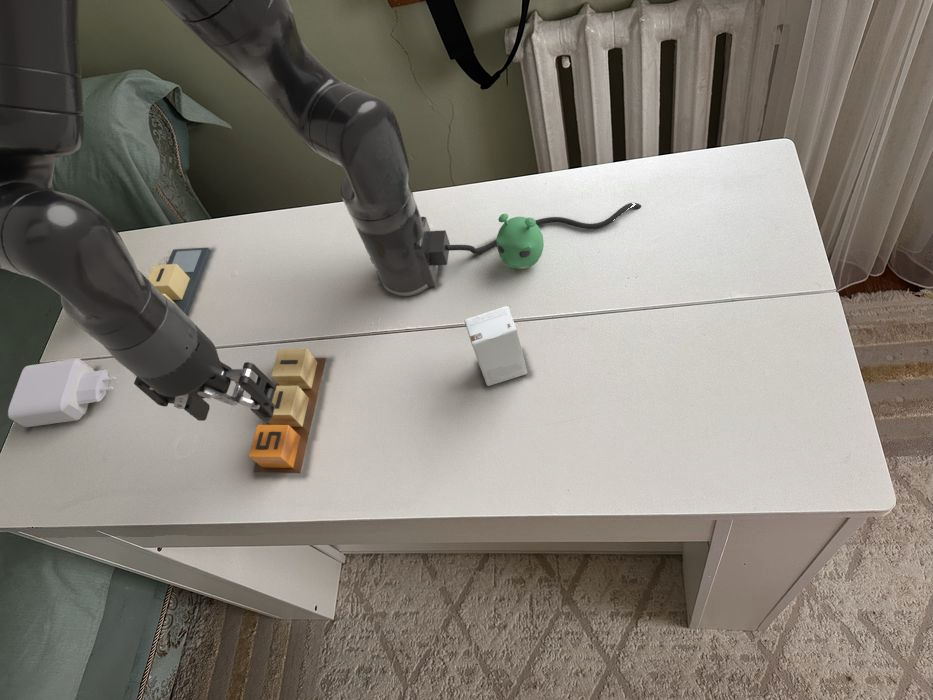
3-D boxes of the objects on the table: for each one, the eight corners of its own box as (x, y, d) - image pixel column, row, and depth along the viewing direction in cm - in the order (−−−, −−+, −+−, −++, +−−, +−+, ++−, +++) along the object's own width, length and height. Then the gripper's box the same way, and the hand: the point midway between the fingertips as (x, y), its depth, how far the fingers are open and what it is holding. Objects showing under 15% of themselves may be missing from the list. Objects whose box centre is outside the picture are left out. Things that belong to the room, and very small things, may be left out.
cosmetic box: (519, 350, 89) (509, 301, 79) (528, 376, 87) (519, 329, 77) (478, 363, 90) (462, 316, 79) (486, 389, 87) (471, 344, 77)
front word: (286, 361, 96) (271, 344, 91) (329, 360, 94) (316, 343, 90) (256, 474, 87) (238, 461, 82) (303, 475, 85) (287, 462, 81)
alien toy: (492, 277, 97) (482, 234, 89) (509, 240, 100) (501, 195, 92) (535, 287, 95) (529, 243, 86) (551, 248, 98) (547, 203, 90)
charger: (117, 417, 96) (29, 429, 98) (131, 365, 101) (46, 377, 103) (96, 403, 92) (5, 416, 94) (111, 350, 97) (24, 363, 99)
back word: (179, 337, 102) (160, 319, 98) (141, 338, 104) (121, 321, 99) (211, 251, 111) (195, 231, 107) (176, 253, 113) (159, 233, 108)
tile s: (270, 436, 88) (256, 424, 85) (300, 436, 87) (288, 424, 84) (262, 467, 86) (248, 456, 82) (293, 468, 85) (280, 456, 82)
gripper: (83, 377, 62) (175, 442, 76) (213, 376, 59) (284, 443, 73) (112, 314, 66) (194, 387, 80) (235, 311, 63) (298, 386, 77)
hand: (237, 414), depth 76 cm, fingers open, 8 cm apart
